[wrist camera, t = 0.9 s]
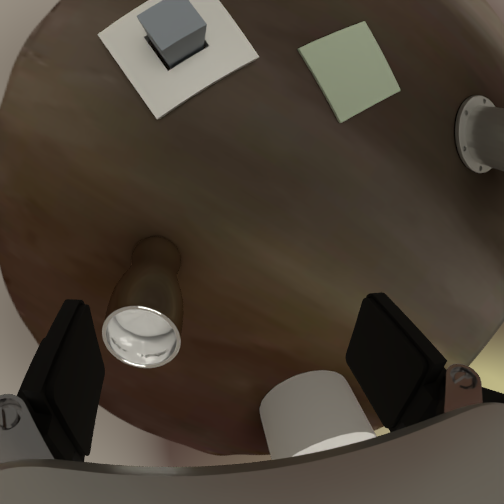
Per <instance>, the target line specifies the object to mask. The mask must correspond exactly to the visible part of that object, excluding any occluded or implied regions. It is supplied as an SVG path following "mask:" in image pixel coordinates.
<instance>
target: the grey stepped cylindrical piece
mask: <svg viewBox="0 0 504 504" xmlns="http://www.w3.org/2000/svg"><path fill="white" fill-rule="evenodd" d="M259 410H260V416H261V420H262V424H263V428H264V432H265V436H266V440H267V443H268V447H269V451H270V455H271V459H272V460H275V459H281V458H288V457H294V456H299V455H304V454H310V453H315V452H319V451H324V450H328V449H333V448H337V447H341V446H345V445H349V444H353V443H357V442H360V441H364V440H367V439H371V438H374V437H377V436H376V434H375V433H374V431H373V429H372V427H371V425H370V423H369V421H368V419H367V417H366V416H365V414H364V412H363V410H362V408H361V406H360V404H359V403H358V401H357V399H356V397H355V395H354V393H353V392H352V390H351V388H350V386H349V384H348V382H347V381H346V379H345V378H344V377H343V376H342V375H340V374H338V373H336V372H333V371H327V370H320V371H311V372H306V373H302V374H299V375H296V376H294V377H291V378H289V379H287V380H285V381H283V382H282V383H280V384H278V385H277V386H275V387H274V388H273V389H272V390H271V391H270V392H268V393H267V395H266V396H265V397H264V399H263V400H262V402H261V405H260V408H259Z"/></svg>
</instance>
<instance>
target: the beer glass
mask: <svg viewBox="0 0 504 504" xmlns="http://www.w3.org/2000/svg"><path fill="white" fill-rule="evenodd" d="M180 266H181V255H180V252H179V250H178V248H177V247H176V246H175V244H174V243H172V242H171V241H170V240H168V239H166V238H163V237H159V236H152V237H148V238H145V239H143V240H141V241H140V242H139V243H138V244H137V245H136V246H135V248H134V250H133V253H132V265H131V266H130V267H129V268H128V269H127V271H126V272H125V273H124V274H123V276H122V277H121V278H120V280H119V281H118V283H117V284H116V286H115V288H114V290H113V292H112V295H111V297H110V300H109V303H108V307H107V311H106V316H105V321H104V324H103V328H102V336H103V340H104V343H105V345H106V347H107V348H108V350H109V351H110V352H111V353H112V354H113V355H114V356H115V357H116V358H117V359H119V360H120V361H122V362H124V363H126V364H128V365H131V366H135V367H140V368H153V367H158V366H162V365H164V364H166V363H168V362H169V361H171V360H172V359H173V358H174V357H175V356H176V355H177V353H178V351H179V349H180V344H181V333H182V326H183V314H184V311H183V298H182V293H181V288H180V285H179V281H178V278H177V274H178V272H179V270H180Z"/></svg>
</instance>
